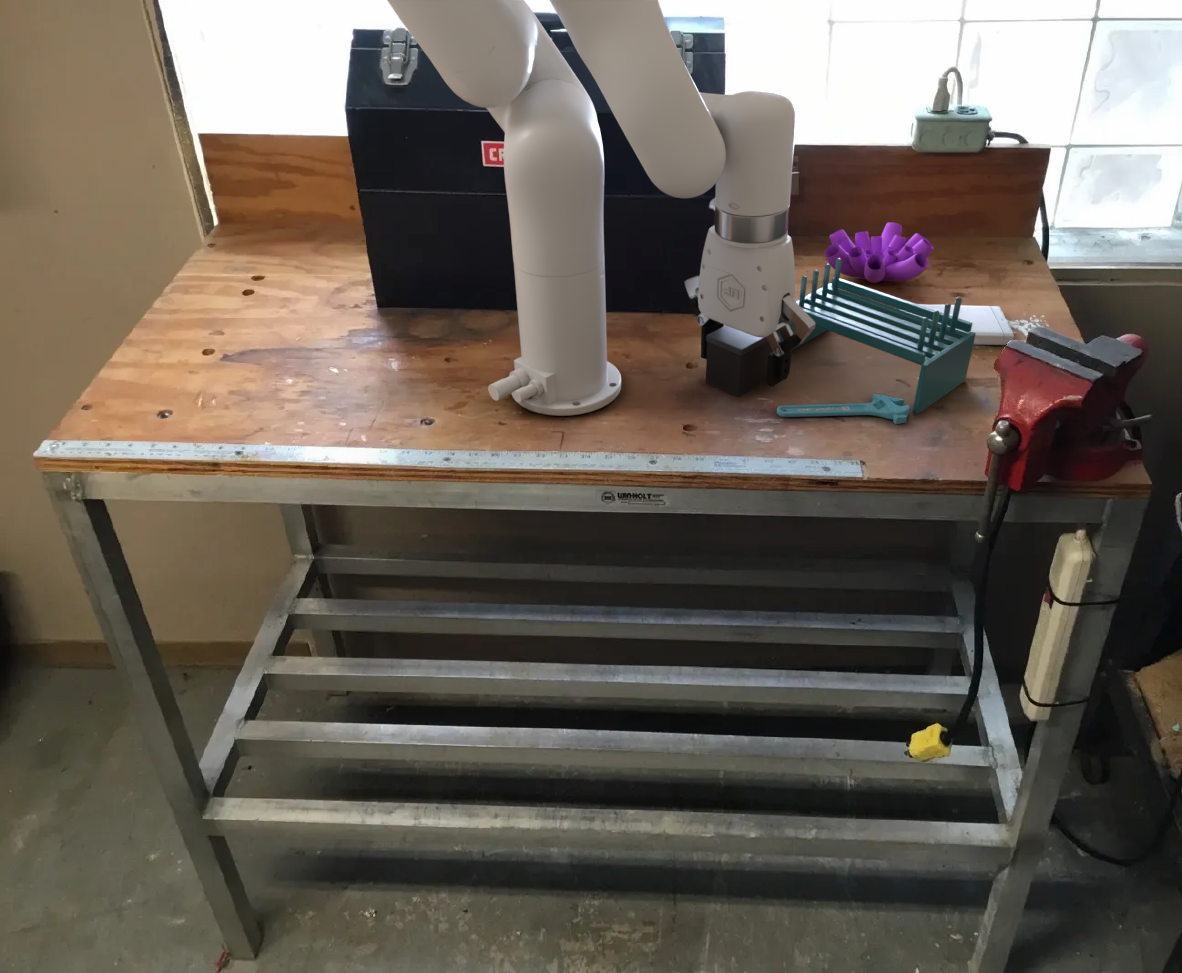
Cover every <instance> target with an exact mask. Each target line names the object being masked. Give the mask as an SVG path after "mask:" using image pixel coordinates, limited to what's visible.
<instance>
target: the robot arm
mask: <svg viewBox="0 0 1182 973" xmlns="http://www.w3.org/2000/svg"><path fill="white" fill-rule="evenodd" d="M386 1H387V3H389V5H390V7H391V8H392V10H393V11H394V13H395V14H396V15H397V17H398V18H399V20H400V21H401V23H402V24H403V25H404V27H405V28H406V29H407V31H408V32H409V33H410V35H411V36H412V38H413V39H414V40H415V42H416V43H417V44H418V46H419V47H420V49H421V50H422V51H423V52H424V54H425V55H426V57H427V58H428V60H430V62H431V63H432V66H433V67H434V68H435V69H436V71H437V72H438V74H439V75H440V77H441V78H442V79H443V81H444V83H445V84H446V85H447V86H448V87H449V89H450V90H451V91H452V92H453V93H454V94H455V95H456V96H457V97H458V98H460V99H461V100H463V101H464V102H466V103H469V104H470V105H473V106H474V107H478V108H482V109H483V108H485V109H486V110H487V111H488V112H489V114H490V115H491V117H492V118H493V119H494V120H495V122H496V123H497V124H498V126H499V127H500V129H501V130H502V131H503V133H504V140H503V141H504V142H503V171H504V172H503V173H504V174H503V175H504V184H505V191H506V192H505V193H506V199H507V208H508V215H509V227H510V238H511V249H512V250H511V251H512V261H513V262H512V263H513V270H514V281H515V282H514V283H515V295H516V308H517V320H518V331H519V344H520V354H521V355H520V357H517V358H516V359H514V360H513V366H514V370H512V371H510V372H509V374H508V376H507V377H504V378H501V379H499V380H497V381H495V382H493V383H490V384H489V385H488V386H487V390H488V393H489V396H490V397H491V399H492V400H494V401H496V402H498V401H500V400H502V399H504V398H506V397H509V396H510V395H511V397H512V398H513V400H514V402H516V403H517V404H518V405H520V406H521V407H523V408H524V409H526V410H528V411H531V412H534V413H537V414H540V415H541V414H542V415H547V416H555V417H556V416H558V417H566V416H567V417H568V416H569V417H570V416H571V417H572V416H577V415H584V414H588V413H592V412H594V411H597V410H600V409H602V408H603V407H605V406H608V405H609V404H610V403H612V402H614V400H615V399H616V398H617V397H618V396H619V394H620V393H621V390H622V375H621V372H620V370H619V369H618V368H617V367H616V366H615V365H614V364H613V363H612V362H609V361H608V349H607V347H608V344H607V343H608V342H607V341H608V340H607V307H606V306H607V303H606V302H607V301H606V265H605V264H606V263H605V262H606V261H605V259H606V258H605V234H604V233H605V229H604V228H605V227H604V226H605V225H604V224H605V222H604V219H605V218H604V210H605V208H604V207H605V206H604V204H605V203H604V202H605V156H604V155H605V154H604V146H603V140H602V138H603V137H602V134H601V128H600V125H599V122H598V121H599V120H598V116H597V115H598V114H597V112H596V109H595V105H594V103H593V101H592V99H591V97H590V94H588V92H587V90H586V89H585V87H584V85H583V84H582V82H581V80H579V78H578V77H577V75H576V73H575V72H574V71H573V69H572V67H571V66H570V64H569V63H568V62H567V60H566V59H565V57H564V56H563V54H562V52H560V50H559V48H558V47H557V45H556V44H555V42H554V41H553V39H552V37H550V34H549V33H548V32H547V30H546V29H545V28H544V26H543V25H542V23H541V22H540V20H539V19H538V16H536V14H535V13H534V11H533V9H531V7H530V6H529V5H528V3H527V2H526V1H525V0H386ZM549 2H550V3H551V5H552V7H553V9H554V10H555V13H556V14H557V17H558V18H559V20H560V22H561V24H562V25H563V27H564V29H565V31H566V33H567V34H568V36H569V38H570V40H571V42H572V45H573V47H574V49H575V50H576V52H577V54H578V55H579V57H580V59H581V60H582V62H583V63H584V65H585V66H586V69H587V70H588V71H589V73H590V74H591V76H592V77H593V79H594V81H595V83H596V84H597V86H598V88H599V90H600V92H601V94H602V96H603V98H604V99H605V101H606V104H607V105H608V107H609V109H610V110H611V112H612V114H613V116H614V118H615V120H616V121H617V123H618V126H619V127H620V130H622V133H623V134H624V136H625V138H626V140H627V142H628V143H629V145H630V147H631V148H632V150H633V152H634V154H635V155H636V158H637V159H638V161H639V163H640V165H641V166H642V168H643V170H644V171H645V174H646V175H647V177H648V178H649V180H650V181H651V182H652V184H653V185H654V186H655V187H656V188H658V190H659V191H661V192H662V193H664V194H666V195H668V196H670V197H672V198H677V199H692V198H696V197H698V196H701V195H704V194H705V193H706V192H708V191H709V190H711V189H712V188H713V187H714V186H715V196H714V198H712V199H711V200H710V202H709V205H708V209H709V211H711V212H713V213H714V224H713V225H712V226H711V227H708V228H709V229H708V231H707V233H706V237H705V241H704V245H703V249H702V256H701V262H700V270H699V274H698V275H695V276H692V277H690V278H688V279H686V280H685V281H684V283H683V284H684V288H685V289H686V292H687V295H688V298H689V299H690V300H689V304H690V306H691V308H692V310H693V311H694V313H695V315H696V316H697V317H696V323H697V325H698V326H700V328H701V331H700V334H701V335H700V357H701V359H704V360H707V341H706V336H707V335H708V334H710V333H712V332H714V331H716V330H718V329H720V328H722V327H724V326H726V325H727V326H729V327H732V328H734V329H737V330H740V331H742V332H745V333H747V334H750V335H753V336H756V337H766V339H767V341H768V343H769V345H770V347H771V349H772V351H773V352H772V353H770V354H769V355H768V362H767V377H766V381H765V384H766V386H768V387H769V388H774V387H775V386H777V385H778V384H780V383H782V382H784V381H785V380H786V379H788V377H789V376H790V373H791V363H792V352H793V350H795V349H796V348H795V347H797V346H798V345H800V344H801V343H803V342H804V341H806V340H807V337H808V336H809V335H810V333H811V332H812V331H813V329H814V328H815V326H816V324H815V322H814V320H813V319H812V318H811V317H810V316H809V315H808V314H807V313H806V312H805V311H804V310H803V309H802V308H801V307H800V306H799V305H798V304H797V303H796V301H795V300H796V272H795V271H796V266H795V255H794V254H795V253H794V245H793V239H792V237H791V236H790V235H789V232H788V231H789V220H790V205H791V194H792V193H791V192H792V178H793V177H792V176H793V165H794V152H795V141H796V140H795V139H796V126H797V108H796V104H795V103H794V101H793V100H792V99H791V98H790V97H789V96H787V95H785V94H783V93H779V92H777V91H773V90H772V91H771V90H747V91H741V92H737V93H733V94H721V93H711V92H710V93H708V92H700V91H699V89H698V88H697V85H696V83H695V81H694V79H693V78H692V76H691V74H690V71H689V70H688V68H687V66H686V64H685V62H684V60H683V57H682V56H681V53H680V50H679V49H678V47H677V45H676V43H675V40H674V38H673V36H672V34H671V31H670V28H669V27H668V25H667V21H666V19H665V16H664V13H663V11H662V8H661V4H660V2H659V0H549ZM791 322H792V323H793V324H794V325H795V327H796V329H795V331H794V333H793V332H792V330H791V328H790V326H789V324H790V323H791ZM777 330H779V332H780V334H781V336H782V338H783V340H784V341H783V342H781V341H780V339H779V337H778V335H777V333H776V331H777ZM800 346H801V345H800ZM798 347H799V346H798ZM798 347H797V348H798ZM794 348H795V349H794ZM792 349H793V350H792Z"/></svg>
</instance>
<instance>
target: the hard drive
mask: <svg viewBox="0 0 1182 973" xmlns="http://www.w3.org/2000/svg"><path fill="white" fill-rule="evenodd" d="M917 304H918V305H921V306H924V307H927V308H930V309H933V310H938V311H939V312H942V313H944V308H945V305H946V304H927V303H926V304H923V303H917ZM950 305H951V309H950V314H949V315H951V316H953V311H954V306H955V304H950ZM896 309H898V308H896ZM899 310H901V309H899ZM901 311H904V310H901ZM904 312H906V311H904ZM907 313H909V312H907ZM910 314H912V313H910ZM913 315H915V314H913ZM916 316H918V315H916ZM919 317H921V316H919ZM896 318H897V317H896ZM922 318H924V317H922ZM958 318H959V319H962V320H965V321H968V322H971V323H972V328H971V331H970V332H974V333H976V334H975V339H974V343H973V345H983V346H984V345H985V346H986V345H987V346H988V345H989V346H990V345H992V346H1007V345H1006V344H1007V343H1008V342H1009V341H1010V340H1013V341H1014V340H1015V334H1014V332H1013V330H1012V327H1011V326H1010V324H1009V322H1008V320H1007V317H1006V316H1005V314H1004V312H1003V310H1002V308H1001V307H1000V306H999V305H998V306H997V305H993V306H992V305H964V304H961V306H960V311H959V316H958ZM898 319H900V318H898ZM901 320H902V319H901ZM928 320H930V319H928ZM904 321H905V320H904ZM930 321H932V320H930ZM907 322H908V321H907ZM910 323H911V322H910ZM913 324H914V323H913ZM939 324H941V323H939ZM916 325H917V324H916ZM918 326H920V325H918ZM948 327H950V326H948ZM900 329H902V328H900ZM927 329H928V328H927ZM903 330H905V329H903ZM930 330H931V329H930ZM957 330H959V329H957ZM906 331H907V330H906ZM959 331H962V330H959ZM909 332H910V331H909ZM936 332H937V331H936ZM962 332H965V331H962ZM912 333H913V332H912ZM938 333H939V332H938ZM965 333H968V332H965ZM914 334H916V333H914ZM917 335H919V334H917ZM947 336H948V335H947ZM950 337H951V336H950ZM926 338H927V337H926ZM953 338H954V337H953ZM928 339H929V338H928ZM956 339H957V338H956ZM904 340H906V339H904ZM958 340H959V339H958ZM907 341H909V340H907ZM910 342H911V341H910ZM937 342H938V341H937ZM913 343H914V342H913ZM940 343H941V342H940ZM942 344H944V343H942Z"/></svg>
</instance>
